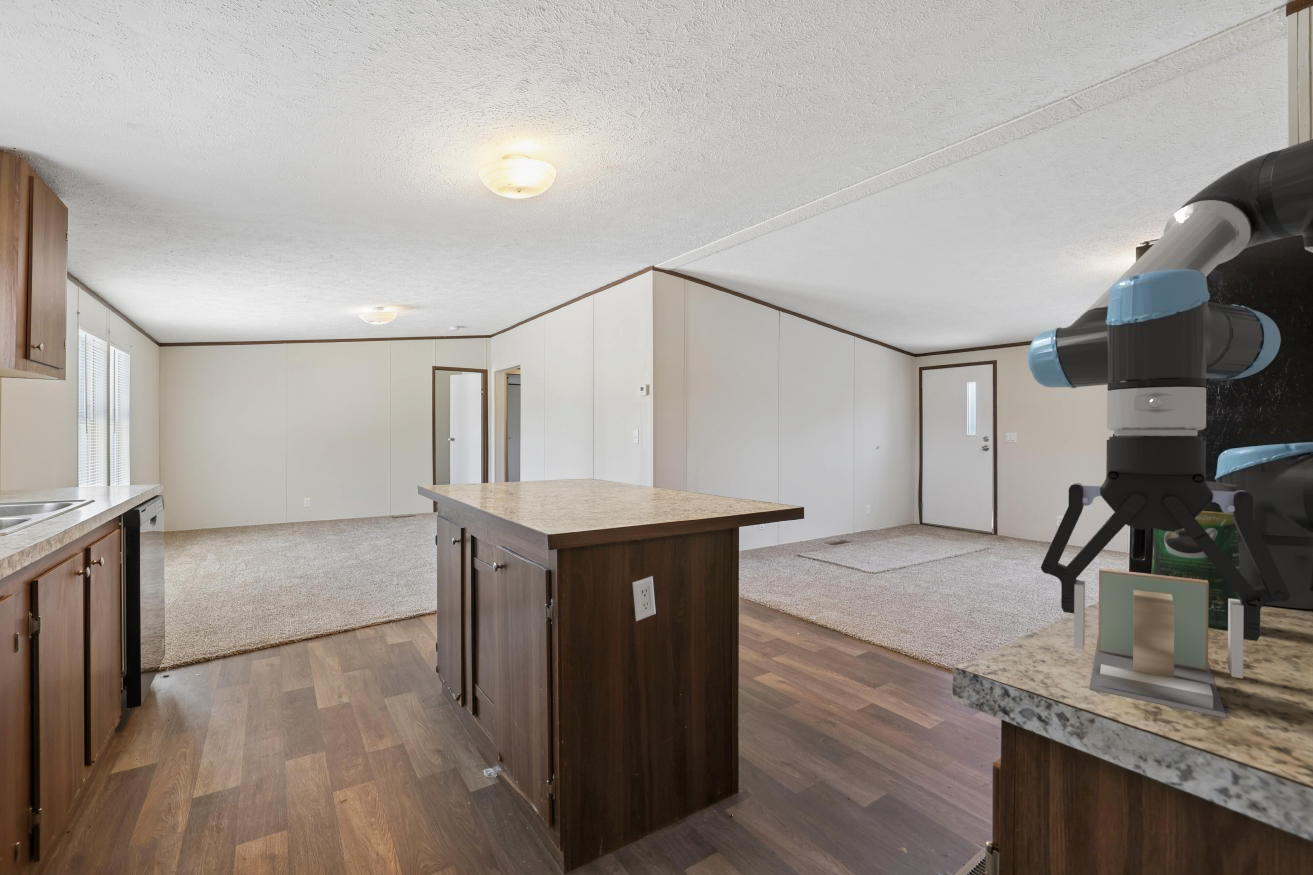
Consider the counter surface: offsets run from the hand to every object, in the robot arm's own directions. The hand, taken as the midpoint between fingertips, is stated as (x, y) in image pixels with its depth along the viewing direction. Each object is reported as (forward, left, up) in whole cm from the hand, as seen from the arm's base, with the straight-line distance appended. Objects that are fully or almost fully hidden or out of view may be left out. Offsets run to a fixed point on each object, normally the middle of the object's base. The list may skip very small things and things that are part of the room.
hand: (1152, 658), depth 60 cm
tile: (0, -7, -2) cm, 7 cm away
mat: (0, -6, -3) cm, 6 cm away
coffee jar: (-5, -30, -3) cm, 31 cm away
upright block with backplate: (0, 0, -2) cm, 2 cm away
